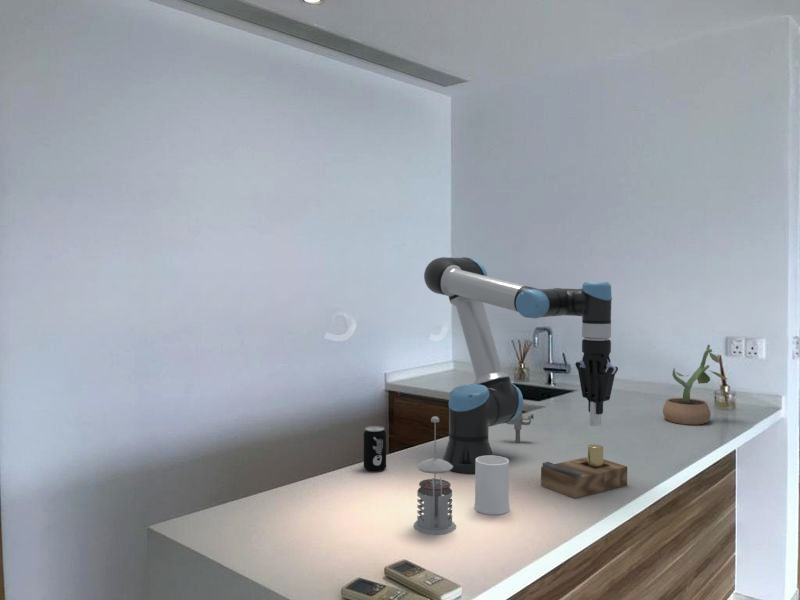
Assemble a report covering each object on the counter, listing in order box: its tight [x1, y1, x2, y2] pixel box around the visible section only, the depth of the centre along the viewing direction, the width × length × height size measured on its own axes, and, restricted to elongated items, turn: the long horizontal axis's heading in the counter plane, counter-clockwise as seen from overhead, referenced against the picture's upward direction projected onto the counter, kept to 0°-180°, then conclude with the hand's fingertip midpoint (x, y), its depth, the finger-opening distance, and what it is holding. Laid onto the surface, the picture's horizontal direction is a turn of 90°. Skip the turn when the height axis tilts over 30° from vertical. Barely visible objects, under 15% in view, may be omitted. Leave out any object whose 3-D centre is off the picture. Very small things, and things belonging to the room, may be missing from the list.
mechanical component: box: [506, 411, 534, 444], centre depth 220 cm, size 3×10×10 cm, turn 79°
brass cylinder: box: [587, 443, 604, 469], centre depth 178 cm, size 4×4×10 cm
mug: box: [473, 454, 511, 516], centre depth 159 cm, size 12×8×12 cm
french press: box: [412, 415, 457, 536], centre depth 146 cm, size 10×12×25 cm
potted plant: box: [662, 344, 728, 426], centre depth 250 cm, size 22×18×30 cm
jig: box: [540, 456, 628, 499], centre depth 176 cm, size 20×12×6 cm, turn 122°
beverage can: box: [363, 425, 387, 473], centre depth 190 cm, size 7×7×12 cm
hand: (595, 425), depth 177 cm, fingers closed
